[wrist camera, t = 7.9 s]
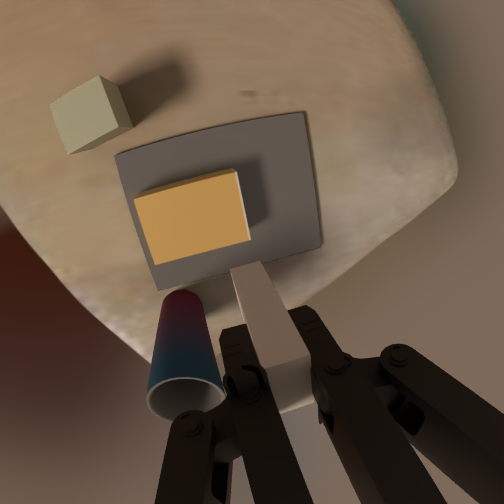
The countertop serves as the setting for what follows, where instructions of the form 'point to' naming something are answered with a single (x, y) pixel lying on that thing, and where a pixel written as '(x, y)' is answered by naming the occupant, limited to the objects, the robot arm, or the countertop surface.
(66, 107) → the sage block
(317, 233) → the mat
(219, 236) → the ochre slab
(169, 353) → the cup
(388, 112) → the countertop surface
